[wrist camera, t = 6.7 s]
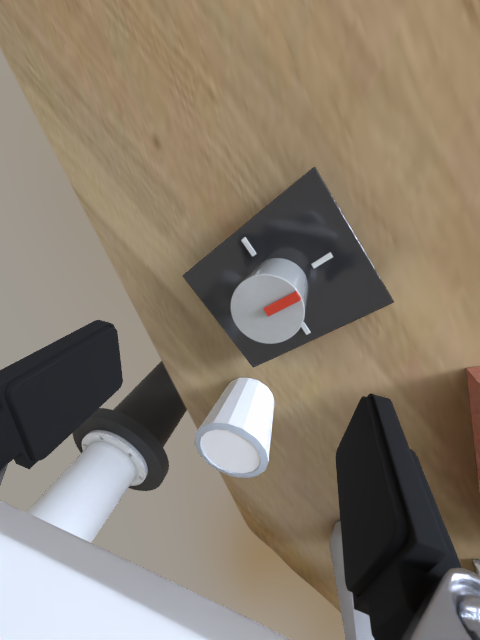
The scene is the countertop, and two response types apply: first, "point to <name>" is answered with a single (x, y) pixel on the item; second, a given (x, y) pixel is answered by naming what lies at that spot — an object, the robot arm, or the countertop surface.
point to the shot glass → (238, 429)
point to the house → (475, 410)
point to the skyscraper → (477, 566)
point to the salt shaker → (347, 594)
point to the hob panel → (304, 250)
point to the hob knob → (271, 301)
